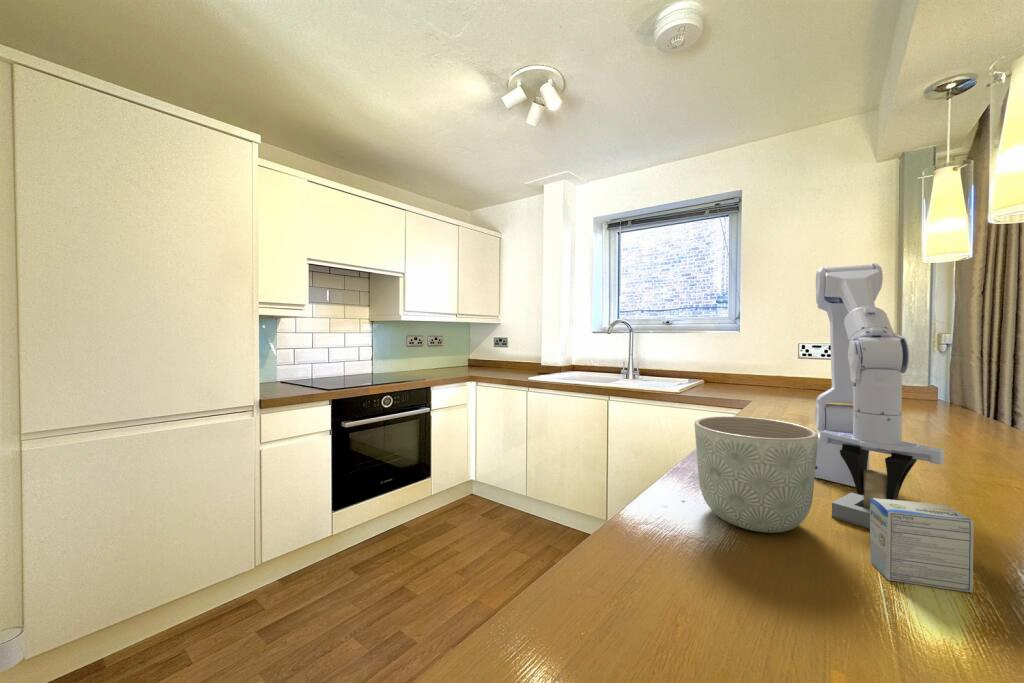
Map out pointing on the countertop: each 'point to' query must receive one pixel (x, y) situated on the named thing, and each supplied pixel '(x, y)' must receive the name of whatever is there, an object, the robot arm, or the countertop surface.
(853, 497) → the hole block
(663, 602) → the countertop surface
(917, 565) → the medicine box
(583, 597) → the countertop surface
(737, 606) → the countertop surface
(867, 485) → the maple pin
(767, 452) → the planter
